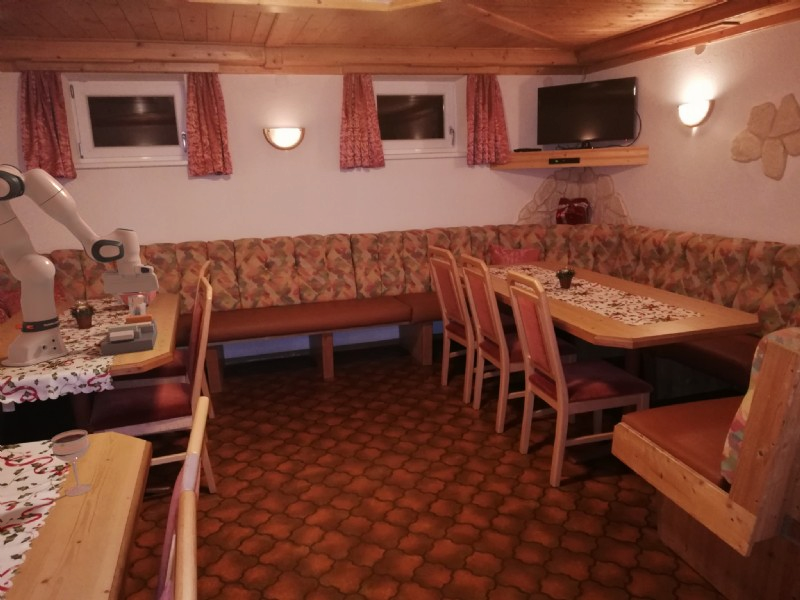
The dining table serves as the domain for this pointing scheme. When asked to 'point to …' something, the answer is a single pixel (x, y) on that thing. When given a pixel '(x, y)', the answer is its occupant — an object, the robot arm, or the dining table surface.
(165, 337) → the dining table surface
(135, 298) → the beer glass
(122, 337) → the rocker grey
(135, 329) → the bar sage
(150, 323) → the bar ivory
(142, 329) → the panel
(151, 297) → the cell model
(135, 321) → the bar orange
